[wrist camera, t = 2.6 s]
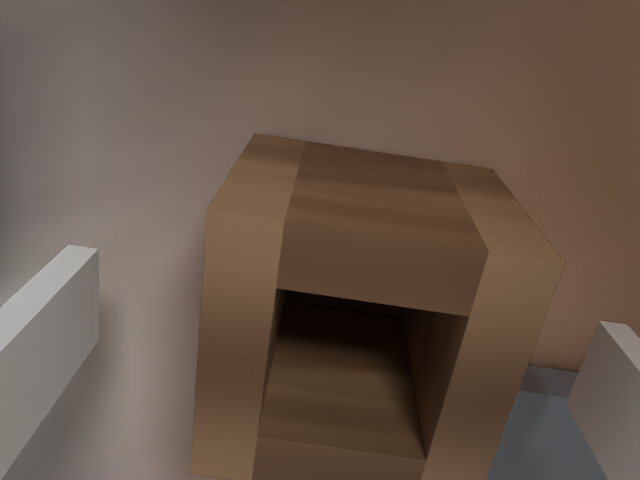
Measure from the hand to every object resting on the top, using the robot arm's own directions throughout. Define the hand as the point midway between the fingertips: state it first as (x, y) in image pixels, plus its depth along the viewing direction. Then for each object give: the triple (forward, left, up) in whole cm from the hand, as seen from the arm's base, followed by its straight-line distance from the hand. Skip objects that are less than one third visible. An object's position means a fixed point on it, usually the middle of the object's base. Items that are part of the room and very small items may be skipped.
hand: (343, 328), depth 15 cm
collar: (0, 0, -3) cm, 3 cm away
